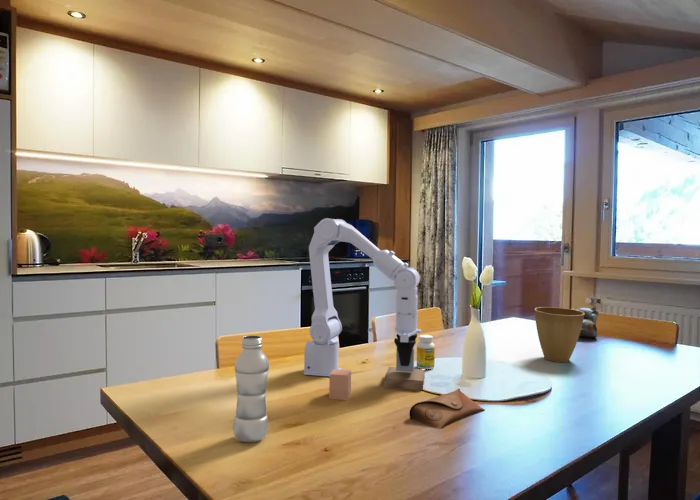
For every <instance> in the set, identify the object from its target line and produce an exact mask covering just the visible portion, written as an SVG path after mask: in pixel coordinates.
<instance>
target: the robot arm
mask: <svg viewBox="0 0 700 500" xmlns="http://www.w3.org/2000/svg"><path fill="white" fill-rule="evenodd" d="M313 230H314V231H313V232H314V233H313V235H312V237H311V241H310V242H309V245H308V252H309V253H308V255H309V264H310V273H311V283H312V293H313V303H314V311H313V313H312V315H311V326H310V328H309V335H310V338H311V339H312V340H308V341H306V343H305V347H304V354H303V355H304V359H303V360H304V361H303V362H304V363H303V364H304V366H303V369H304V370H303V371H304V372H303V375H305V376H317V377H319V376H320V377H329V378H330V373H331V372H332V371H333V369H341V370H343V369H342V367H339V338H338V337H339V335H340V334H341V332H342V331H343V325H342V322H341V320H340V318H339V315H338V311H337V310H336V308H335V307H334V298H333V291H332V289H333V288H332V281H331V280H332V279H331V278H332V277H331V270H330V261H329V252H330V251H331V250H332V249H333V248H334V247H335V245H337V244H338V243H340V242H342V243H343V242H345V243H350V244H352V245H353V246H354V247H355V248H357V249H359V250H360V251H361V252H363V253H364V254H365V255H366V256H368V257H369V258H370V259H372V263H373V266H374V267H375V268H376V269H377V270H378V271H380V272H381V273H382V274H383V275H385V277H387V278H388V279H390V280H391V281H393V284H394V286H395V288H396V295H395V296H396V297H395V328H394V333H396V338H394V340H393V343H394V345H395V347H396V350H397V349H398V353H399V359H400V364H401V366H409V363H410V358H411V352H412V349H413V347H414V348H415V345H416V343H417V340H416V339H417V338H418V334H422V329H420V328H418V304H419V303H418V297H419V296H418V287H417V286H418V285H419V283H420V281H421V276H420V274H419V271H417V270H416V268H415V267H412V266H409V263H407V262H403V261H402V260H401V259H400V258H398V257H397V256H396V252H395V251H393V250H388V249H382V250H381V248H379V247H377V246H376V245H375V244H374V243H373V242H372V241H370V240H369V239H368V237H366V236H365V235H363V234H362V233H361V232H360V231H359V230H358V229H357V228H355V227H354V226H353V225H352V224H350V223H347V222H346V221H345V220H344V219H342V218H341V219H340V218H336V219H335V218H328V217H326V218H325V217H324V218H323V219H321V220H320V221H319V222H318V223H317V224H316V225H315V226H314V227H313Z"/></svg>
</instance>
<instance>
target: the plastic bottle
mask: <svg viewBox="0 0 700 500" xmlns="http://www.w3.org/2000/svg"><path fill="white" fill-rule="evenodd" d="M262 338H263V337H262V336H260V335H245V336H243V337H241V341H242V342H241V348H242V351H241V352H240V354H239V355H238V357H237V358H236V360H235V363H234V373H235V382H236V393H237V394H236V397H237V398H236V409H235V416H234V419H233V427H232V428H233V429H232V430H233V435H234V436H235V438H236V439H237V441H240V442H243V443H255V442H259V441H261V440H263V439H264V438H265V437H266V436H267V434H268V429H269V417H268V413H267V403H266V401H267V400H266V397H267V396H266V395H267V394H266V393H267V392H266V391H267V383H268V382H267V381H268V377H269V372H270V371H269V369H270V362H269V358H268V357H267V355H266V354H265V353H264V351H263V350H262V348H263V341H262V340H263V339H262Z"/></svg>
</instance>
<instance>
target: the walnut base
mask: <svg viewBox="0 0 700 500" xmlns="http://www.w3.org/2000/svg"><path fill="white" fill-rule="evenodd" d="M425 373H426V370H422V369H419V368H414V370H413V372H410V371H396V367H392V366H388V369H387V370H386V373H385V376H384V377H383V379H384V380H383V382H384V384H383V387H384V388H388V389H389V388H390V389H399V390H400V389H401V390H412V391H424V386H423V385H424V384H425V380H424V379H425V377H426V376H425Z"/></svg>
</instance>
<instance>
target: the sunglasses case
mask: <svg viewBox="0 0 700 500" xmlns="http://www.w3.org/2000/svg"><path fill="white" fill-rule="evenodd" d="M485 410H486V409H485V408H482V407H481V406H480V405H479V404H478V403H476V402H475V401H474V400H472V399H471V398H470V397H468V395H466V394H465V393H463V392H462V391H461V389H460V388H457V389H456V390H454V391H451V392H447V393H444V394H441V395H438V396H436V397H432V398H430V399H427V400H424V401H423V400H422V401H420V402H417V403H415V404H413V405H412V406H411V407H410V409H409V418H410V420H413V421H415V422H418V423H421V424H423V425H426V426H429V427H431V428H435V429H438V430H442V429H443V428H445V427H447V426H448V425H450V424H453V423H455V422H458V421H460V420H462V419H465V418H467V417H470V416H473V415H474V414H478V413H482V412H484V411H485Z"/></svg>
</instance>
